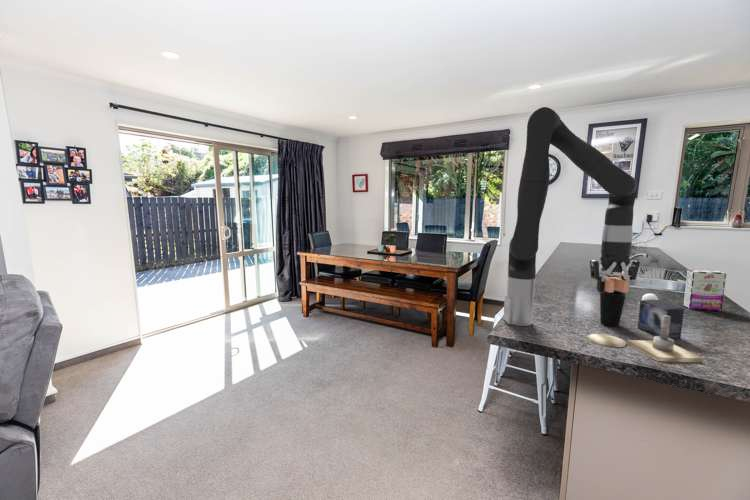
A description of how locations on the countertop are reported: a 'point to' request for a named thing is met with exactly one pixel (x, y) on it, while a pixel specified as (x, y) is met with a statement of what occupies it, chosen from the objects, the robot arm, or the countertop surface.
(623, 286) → the c link
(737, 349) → the countertop surface
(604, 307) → the cup
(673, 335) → the small box
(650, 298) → the capsule
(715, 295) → the candy bar box
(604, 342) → the coaster
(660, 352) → the peg stand
